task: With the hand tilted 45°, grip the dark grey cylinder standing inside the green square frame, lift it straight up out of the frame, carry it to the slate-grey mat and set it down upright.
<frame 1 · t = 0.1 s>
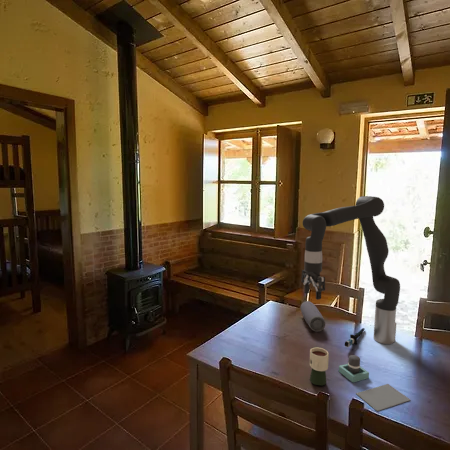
hand: (312, 296, 142), 29 cm above the table, tool pointing down, fingers open, 8 cm apart
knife: (355, 341, 161), on the table
character mug: (317, 382, 128), on the table
green square frame: (353, 374, 133), on the table
dark grey cylinder: (353, 366, 132), in the green square frame
grey mat: (382, 397, 119), on the table
bluetooth speaker: (311, 324, 180), on the table
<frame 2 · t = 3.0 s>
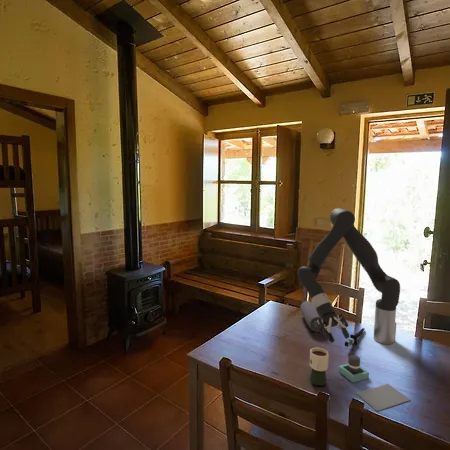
hand: (340, 339, 138), 12 cm above the table, tool tilted 45°, fingers open, 8 cm apart
nothing on the table moved.
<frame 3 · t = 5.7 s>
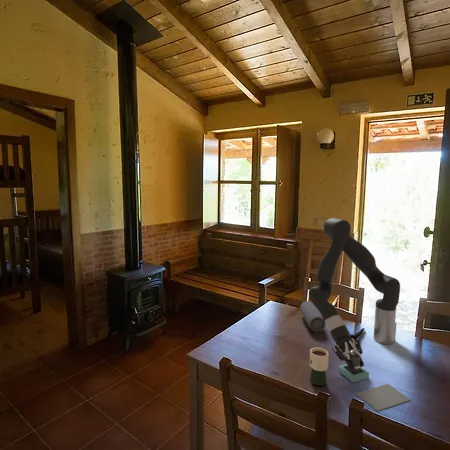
hand: (357, 367, 131), 4 cm above the table, tool tilted 45°, fingers closed on dark grey cylinder, 4 cm apart
dark grey cylinder: (353, 366, 132), in the green square frame, touching gripper
everything else where it was.
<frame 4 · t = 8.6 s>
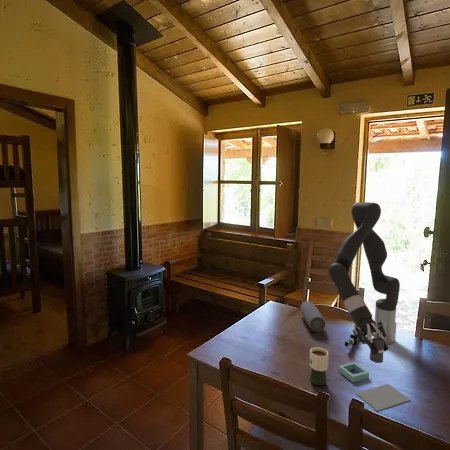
hand: (381, 351, 118), 17 cm above the table, tool tilted 45°, fingers closed on dark grey cylinder, 4 cm apart
dark grey cylinder: (376, 350, 120), point 17 cm above the table, touching gripper
everything else where it was.
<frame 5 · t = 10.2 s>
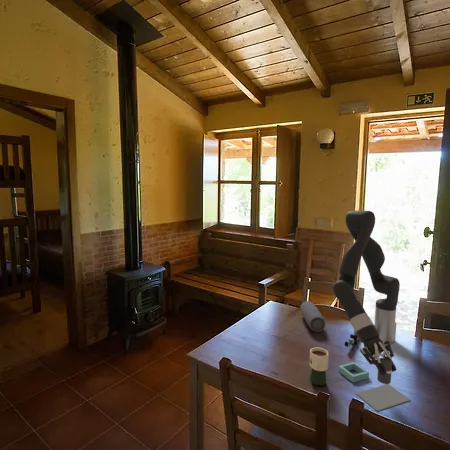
hand: (389, 372, 116), 11 cm above the table, tool tilted 45°, fingers closed on dark grey cylinder, 4 cm apart
dark grey cylinder: (384, 370, 118), point 11 cm above the table, touching gripper
everything else where it was.
when the fingers open (6 cm above the table, at t = 11.6 s): dark grey cylinder drops 1 cm, resting on grey mat.
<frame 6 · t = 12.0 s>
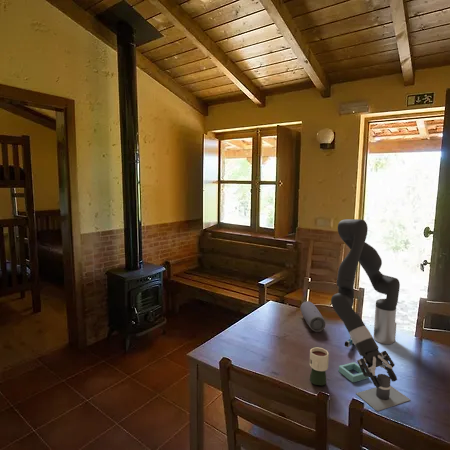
hand: (387, 383, 117), 6 cm above the table, tool tilted 45°, fingers open, 8 cm apart
dark grey cylinder: (383, 386, 119), resting on grey mat
everything else where it was.
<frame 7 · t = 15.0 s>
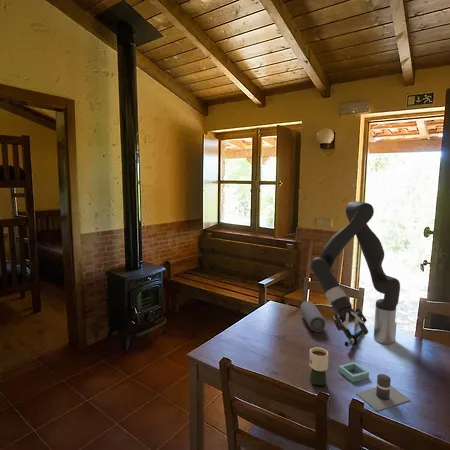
hand: (359, 336, 128), 18 cm above the table, tool tilted 45°, fingers open, 8 cm apart
nothing on the table moved.
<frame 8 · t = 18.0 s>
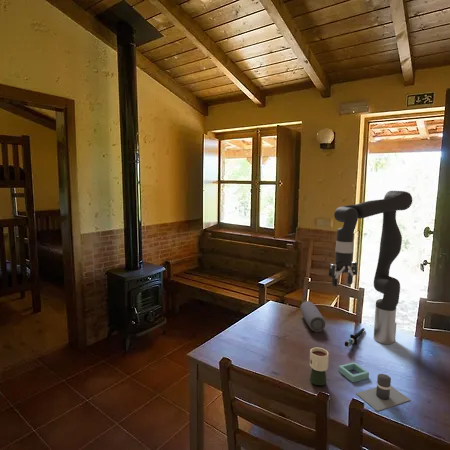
hand: (342, 285, 148), 32 cm above the table, tool pointing down, fingers open, 8 cm apart
nothing on the table moved.
at the end: dark grey cylinder inside the target area (0.1 cm from its centre), resting on grey mat; dark grey cylinder tilted 1°; the gripper is holding nothing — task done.
